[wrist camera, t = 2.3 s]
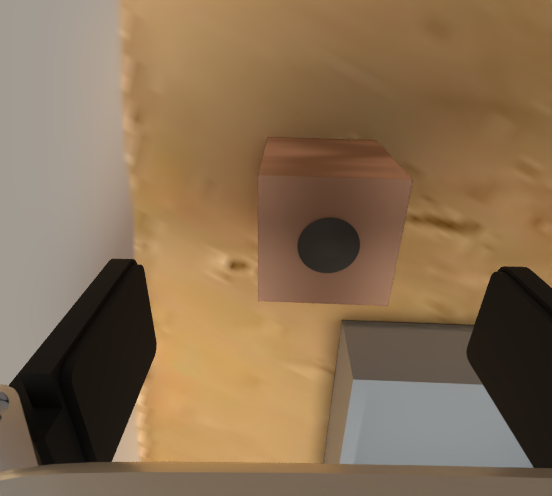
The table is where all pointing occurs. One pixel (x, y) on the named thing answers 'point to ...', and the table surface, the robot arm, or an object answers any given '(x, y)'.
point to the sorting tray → (413, 400)
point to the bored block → (329, 221)
